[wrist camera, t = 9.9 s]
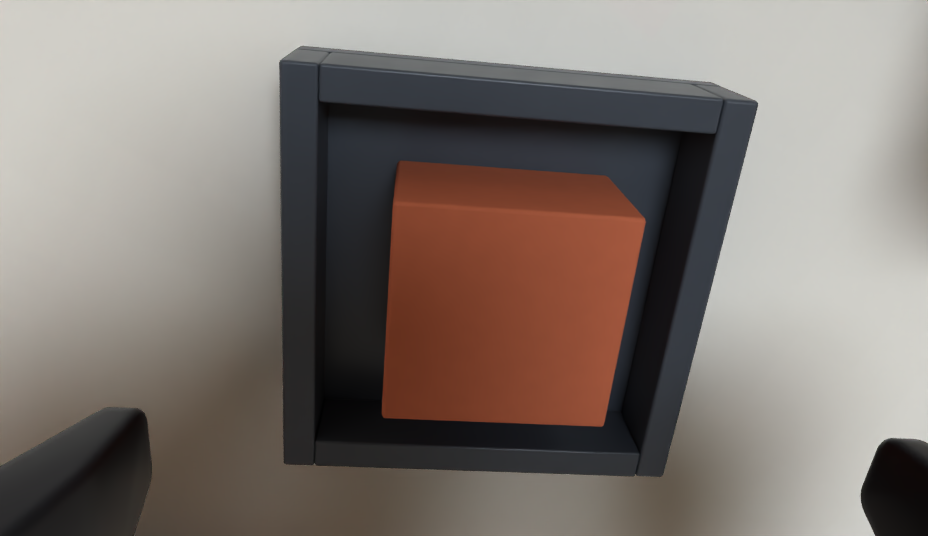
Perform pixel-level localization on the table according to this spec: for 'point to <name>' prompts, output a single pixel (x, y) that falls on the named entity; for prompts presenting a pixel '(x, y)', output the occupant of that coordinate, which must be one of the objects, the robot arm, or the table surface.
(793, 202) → the table surface
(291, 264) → the dark gray square tray
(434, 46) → the table surface
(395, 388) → the orange square block
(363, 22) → the table surface
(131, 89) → the table surface
